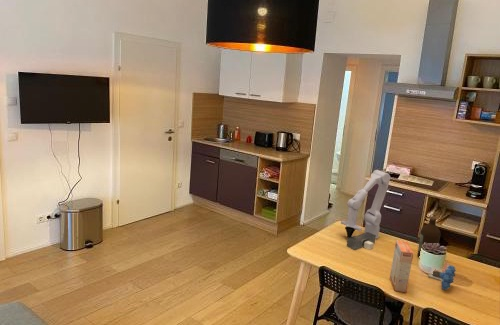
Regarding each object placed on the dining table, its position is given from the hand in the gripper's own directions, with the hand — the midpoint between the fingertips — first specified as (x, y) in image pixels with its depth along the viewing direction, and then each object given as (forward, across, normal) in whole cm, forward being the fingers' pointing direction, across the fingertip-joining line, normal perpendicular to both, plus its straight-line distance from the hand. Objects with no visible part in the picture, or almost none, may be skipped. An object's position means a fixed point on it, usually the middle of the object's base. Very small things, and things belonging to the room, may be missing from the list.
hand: (349, 238), depth 241 cm
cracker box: (+1, +49, -24) cm, 55 cm away
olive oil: (+1, +40, +20) cm, 45 cm away
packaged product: (+2, +55, +8) cm, 55 cm away
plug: (+1, +8, 0) cm, 9 cm away
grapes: (+1, +63, -5) cm, 63 cm away
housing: (+1, +9, 0) cm, 9 cm away
